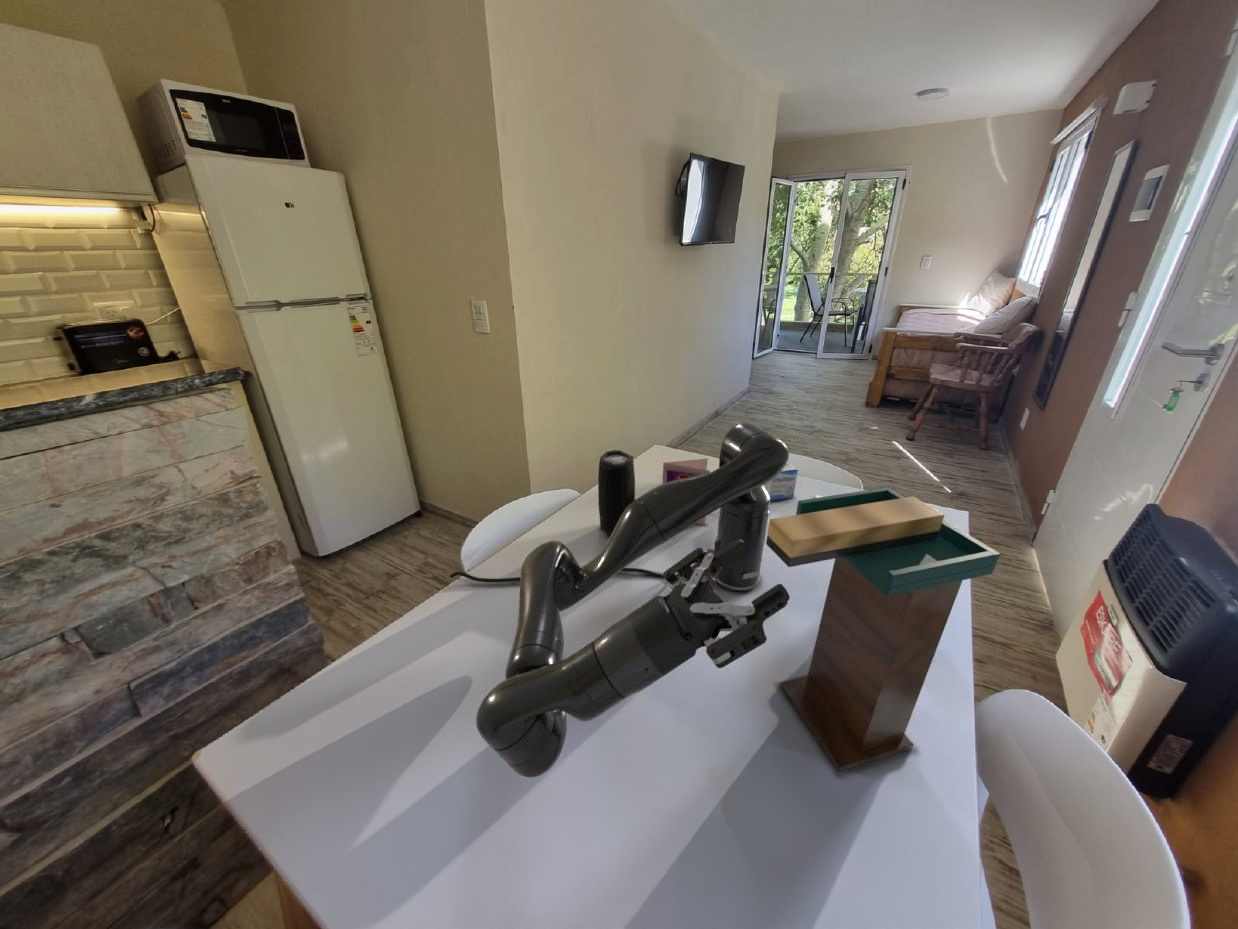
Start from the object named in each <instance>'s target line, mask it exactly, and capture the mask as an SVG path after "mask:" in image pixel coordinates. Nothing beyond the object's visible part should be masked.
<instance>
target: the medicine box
mask: <svg viewBox="0 0 1238 929" xmlns="http://www.w3.org/2000/svg"><path fill="white" fill-rule="evenodd" d="M798 473H799V469H797V468H796V467H795V466H794V465H792V464H790V463H787V464H786V466H785V467H784V469H783V470H782V472H781V473H780V474H779V475H778V476H776V477H775V478H774V479H773V480H771V481H770V482H768V483H766V484H765V485H764V486H765V487H766V489H767V491H768V493H769V495H770V502H771V501H772V502H773V501H780V500H785V499H792V498H794V496H795V490H796V484H797V480H798Z"/></svg>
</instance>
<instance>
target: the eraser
mask: <svg viewBox="0 0 1238 929" xmlns="http://www.w3.org/2000/svg"><path fill="white" fill-rule="evenodd" d="M945 516H946V515H945V514H944V513H943V512H941V511H940V510H938V509H936V508H934V507H933V506H930V505H929V504H927V503H925V502H924V501H923V500H920V499H919V498H916V497H915V496H907V497H906V496H905V498H900V499H893V500H887V501H881V502H875V503H868V504H862V505H856V506H850V507H843V508H837V509H831V510H825V511H818V512H812V513H806V514H800V515H796V514H793V515H787V516H781V517H776V518H775V517H774V518H770V519H769V524H768V530H767V536H766V541H765V542H766V543H765V544H766V546H767V547H768V548H769V549H770V550H771V551H772V552H773V553H774V554H775V555H776V556H777V557H778V558H779V559H780V561H782V562H783V563H784V564H785V565H786V566H787V567H788V568H792V567H799V566H804V565H808V564H812V563H818V562H824V561H829V560H835V558H840V557H845V556H851V555H856V554H861V553H867V552H872V551H877V550H882V549H888V548H893V547H898V546H903V545H909V544H914V543H919V542H925V541H930V540H935V539H937V537H938V534H939V530H940V528H941V525H942V522H943V520H944V519H945Z"/></svg>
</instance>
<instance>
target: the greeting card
mask: <svg viewBox="0 0 1238 929" xmlns="http://www.w3.org/2000/svg"><path fill="white" fill-rule="evenodd" d="M662 463H663V465H662V484H664V483H667V482H671V481H675V480H680V479H685V478H691V477H696V476H701V475H704V474H707V473H710V472H711V471H710V470H708V458H700V459H699V458H698V459H689V460H678V461H677V460H675V461H666V462H662ZM706 517H707V516H705V517H704V518H702V519H700V520H699V521H697V522H695V523H694V524H698V525H703V526H705V525H706V519H707V518H706Z"/></svg>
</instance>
